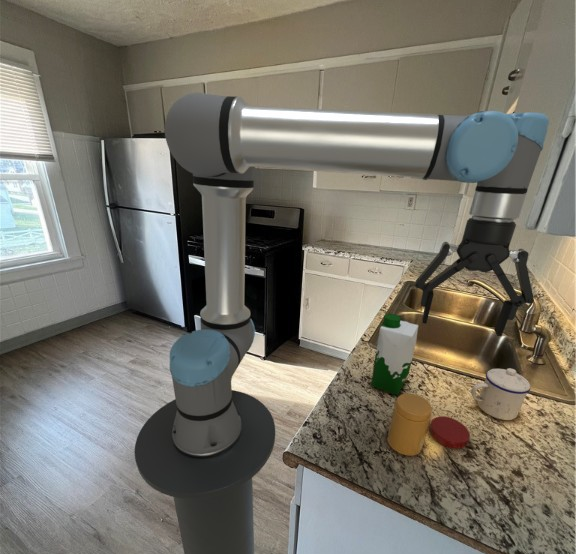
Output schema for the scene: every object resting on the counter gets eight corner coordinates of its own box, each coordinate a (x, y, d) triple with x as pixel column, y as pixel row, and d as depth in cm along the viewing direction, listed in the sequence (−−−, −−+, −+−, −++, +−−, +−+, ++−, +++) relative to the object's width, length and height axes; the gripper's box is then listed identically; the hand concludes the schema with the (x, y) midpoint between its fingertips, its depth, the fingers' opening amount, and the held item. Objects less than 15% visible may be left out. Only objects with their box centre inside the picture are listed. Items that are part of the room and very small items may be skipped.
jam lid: (429, 442, 68) (431, 436, 67) (428, 418, 75) (430, 412, 74) (469, 453, 66) (472, 447, 65) (465, 428, 72) (467, 421, 72)
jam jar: (385, 449, 66) (394, 410, 62) (388, 426, 72) (396, 389, 68) (422, 460, 64) (434, 420, 59) (421, 435, 70) (432, 397, 65)
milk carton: (376, 371, 92) (388, 309, 83) (408, 382, 88) (423, 317, 79) (367, 386, 85) (378, 320, 77) (400, 399, 81) (416, 330, 72)
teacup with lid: (504, 397, 83) (519, 360, 78) (526, 422, 75) (545, 382, 70) (458, 395, 83) (470, 358, 78) (475, 419, 75) (489, 379, 70)
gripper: (569, 221, 54) (525, 330, 63) (416, 211, 62) (397, 309, 71) (589, 228, 48) (537, 347, 57) (416, 215, 56) (395, 323, 65)
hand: (459, 327), depth 64 cm, fingers open, 13 cm apart
